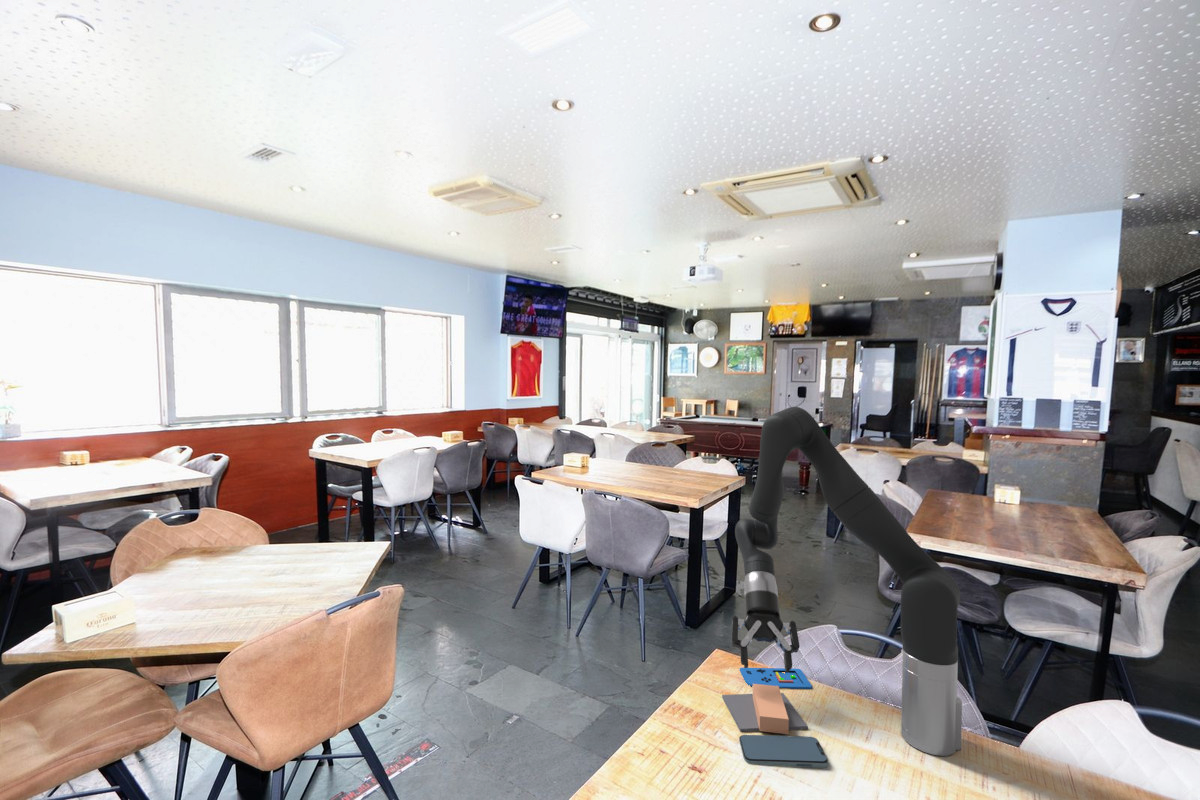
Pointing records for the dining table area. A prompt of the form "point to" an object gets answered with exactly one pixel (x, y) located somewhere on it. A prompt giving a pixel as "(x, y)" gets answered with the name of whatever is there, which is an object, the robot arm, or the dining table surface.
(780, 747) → the smartphone
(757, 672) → the handheld gaming device
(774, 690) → the tan rectangular block
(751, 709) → the rubber mat
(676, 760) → the dining table surface
